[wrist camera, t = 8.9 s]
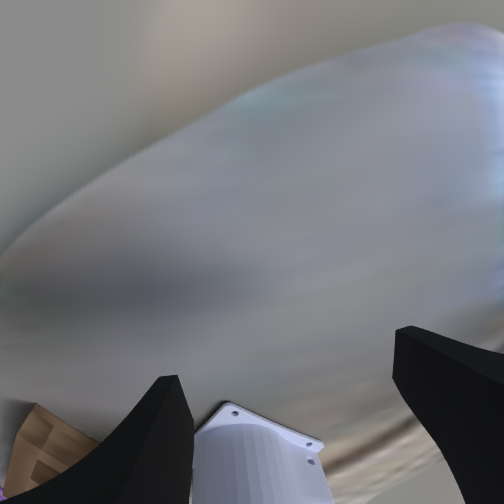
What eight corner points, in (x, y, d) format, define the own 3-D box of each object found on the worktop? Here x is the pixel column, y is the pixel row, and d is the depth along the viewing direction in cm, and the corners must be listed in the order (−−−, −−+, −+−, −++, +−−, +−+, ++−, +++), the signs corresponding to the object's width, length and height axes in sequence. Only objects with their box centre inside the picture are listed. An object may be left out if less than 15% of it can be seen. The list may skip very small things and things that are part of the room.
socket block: (129, 458, 22) (121, 493, 18) (81, 511, 24) (74, 535, 20) (36, 403, 20) (16, 433, 16) (13, 472, 22) (2, 495, 18)
